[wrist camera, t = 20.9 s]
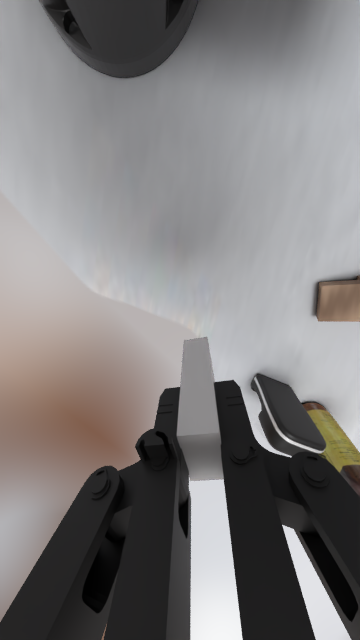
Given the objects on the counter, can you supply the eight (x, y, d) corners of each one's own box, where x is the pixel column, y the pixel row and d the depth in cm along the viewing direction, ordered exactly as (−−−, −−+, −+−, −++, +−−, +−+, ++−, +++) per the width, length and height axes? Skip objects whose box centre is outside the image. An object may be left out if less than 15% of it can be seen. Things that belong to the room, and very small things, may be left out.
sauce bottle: (287, 404, 37) (382, 576, 18) (324, 396, 36) (465, 571, 17) (292, 429, 39) (381, 604, 21) (327, 423, 38) (454, 601, 20)
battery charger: (244, 388, 36) (266, 453, 25) (256, 371, 34) (284, 433, 24) (279, 401, 36) (314, 470, 26) (292, 386, 35) (335, 452, 25)
